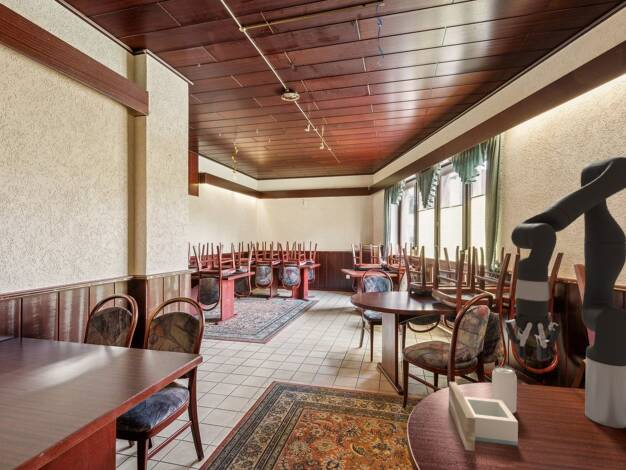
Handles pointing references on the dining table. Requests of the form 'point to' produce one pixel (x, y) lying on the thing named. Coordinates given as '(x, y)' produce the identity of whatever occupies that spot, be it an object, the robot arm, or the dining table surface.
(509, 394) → the can
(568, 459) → the dining table surface
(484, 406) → the socket block
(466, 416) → the stop board
